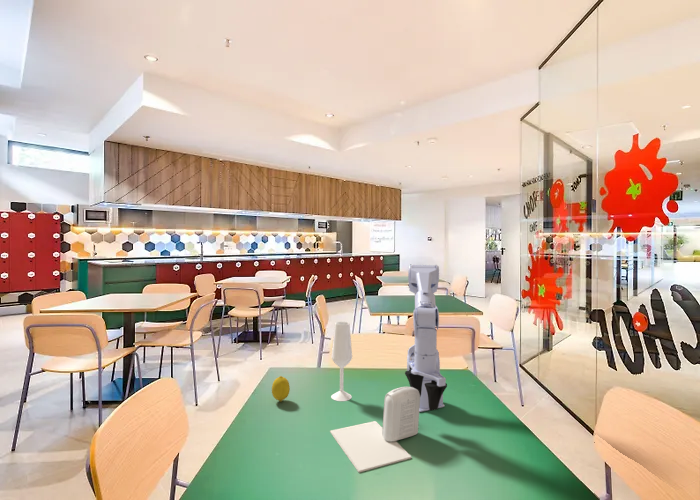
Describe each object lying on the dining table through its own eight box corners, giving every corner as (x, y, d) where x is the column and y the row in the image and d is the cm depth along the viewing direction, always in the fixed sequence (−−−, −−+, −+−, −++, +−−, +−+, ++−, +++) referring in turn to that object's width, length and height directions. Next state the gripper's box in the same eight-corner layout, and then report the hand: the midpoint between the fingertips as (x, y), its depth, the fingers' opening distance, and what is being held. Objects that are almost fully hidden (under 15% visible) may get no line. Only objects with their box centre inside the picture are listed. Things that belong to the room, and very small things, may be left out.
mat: (375, 422, 99) (375, 420, 99) (411, 458, 83) (411, 456, 83) (330, 432, 94) (330, 430, 94) (358, 472, 78) (358, 470, 78)
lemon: (268, 403, 110) (268, 377, 110) (278, 396, 116) (278, 372, 115) (283, 406, 108) (283, 380, 108) (292, 399, 113) (293, 374, 113)
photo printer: (409, 427, 97) (411, 381, 97) (420, 434, 93) (423, 387, 93) (379, 436, 91) (382, 388, 91) (390, 444, 88) (393, 394, 88)
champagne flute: (353, 393, 119) (354, 321, 118) (349, 402, 112) (350, 326, 111) (333, 391, 120) (334, 320, 119) (329, 400, 113) (329, 325, 113)
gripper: (398, 346, 100) (397, 394, 100) (429, 362, 87) (428, 418, 87) (419, 344, 103) (418, 391, 103) (452, 359, 89) (451, 413, 90)
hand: (424, 403), depth 95 cm, fingers open, 7 cm apart
